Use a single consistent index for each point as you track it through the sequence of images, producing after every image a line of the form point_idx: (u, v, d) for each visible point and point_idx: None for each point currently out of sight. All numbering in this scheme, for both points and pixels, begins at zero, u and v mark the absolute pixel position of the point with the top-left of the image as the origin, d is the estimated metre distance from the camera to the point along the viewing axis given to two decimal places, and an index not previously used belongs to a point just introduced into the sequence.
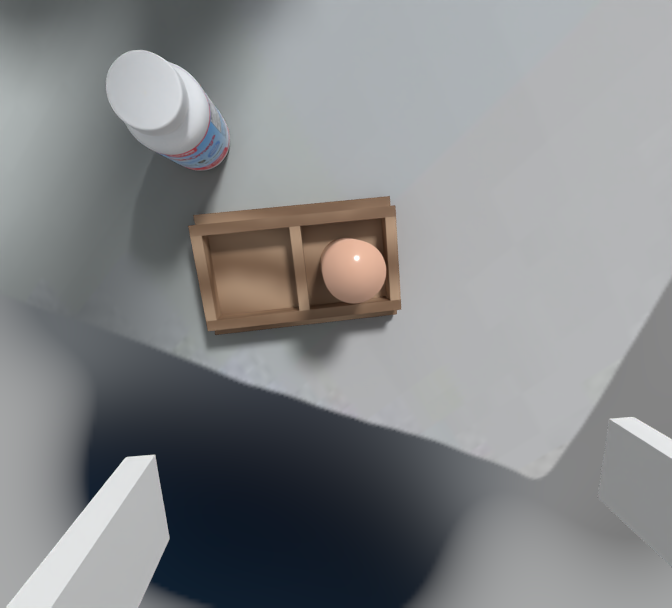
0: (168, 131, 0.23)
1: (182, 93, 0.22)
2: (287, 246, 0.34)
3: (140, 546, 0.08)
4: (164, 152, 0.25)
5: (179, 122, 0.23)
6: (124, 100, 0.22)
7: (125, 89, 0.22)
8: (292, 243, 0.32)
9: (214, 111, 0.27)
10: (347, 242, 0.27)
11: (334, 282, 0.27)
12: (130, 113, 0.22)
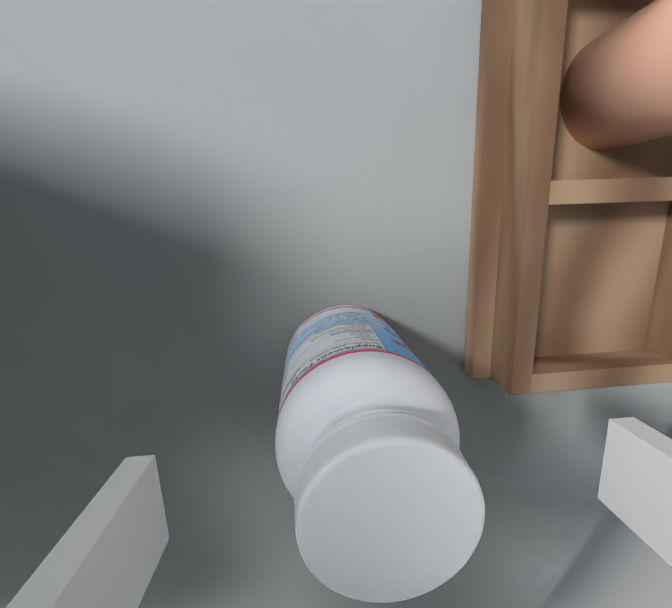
0: None
1: (403, 435, 0.08)
2: (554, 216, 0.17)
3: (140, 546, 0.08)
4: None
5: (449, 439, 0.09)
6: (411, 568, 0.08)
7: (386, 565, 0.08)
8: (581, 200, 0.15)
9: (349, 335, 0.13)
10: None
11: None
12: (441, 558, 0.08)
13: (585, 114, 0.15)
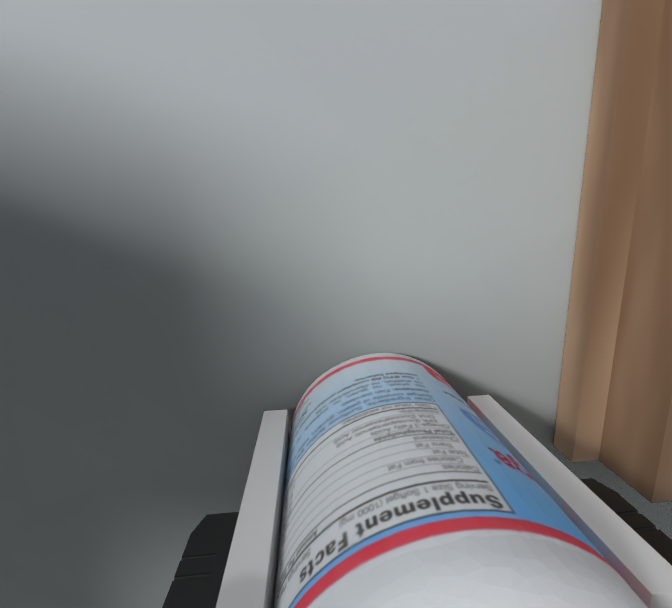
0: None
1: None
2: None
3: None
4: None
5: None
6: None
7: None
8: None
9: (414, 452, 0.06)
10: None
11: None
12: None
13: None
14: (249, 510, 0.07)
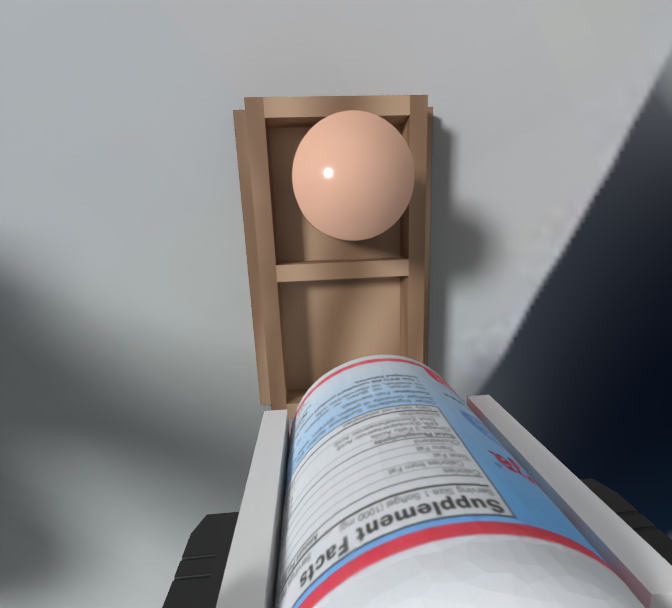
0: None
1: None
2: (308, 283, 0.23)
3: None
4: None
5: None
6: None
7: None
8: (302, 279, 0.21)
9: (415, 455, 0.06)
10: (296, 189, 0.14)
11: (370, 220, 0.14)
12: None
13: None
14: (249, 510, 0.07)
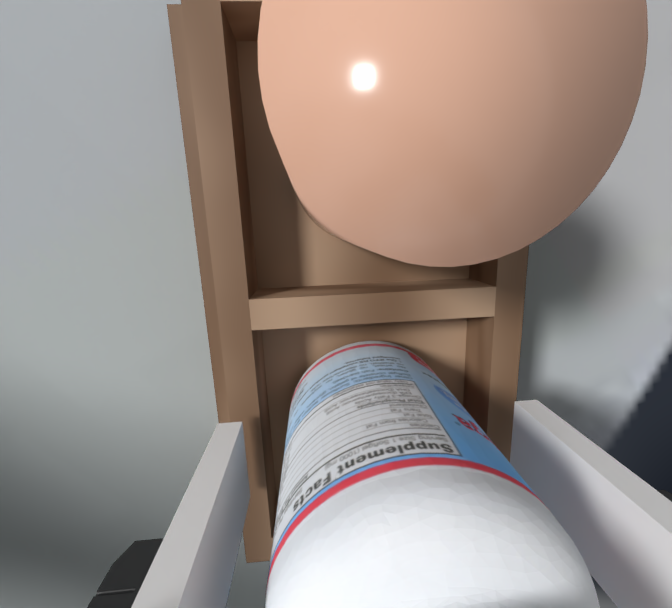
0: None
1: None
2: None
3: (238, 496, 0.10)
4: None
5: None
6: None
7: None
8: (299, 324, 0.11)
9: (389, 414, 0.08)
10: (272, 104, 0.04)
11: (500, 206, 0.05)
12: None
13: (302, 206, 0.11)
14: (173, 539, 0.07)
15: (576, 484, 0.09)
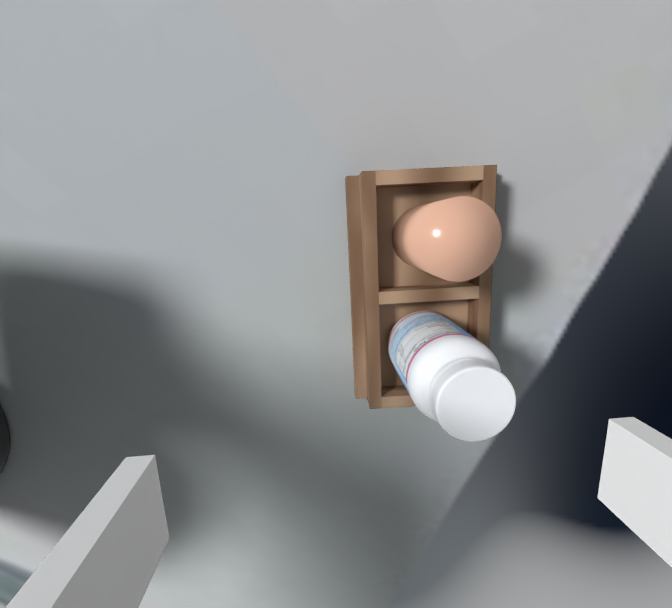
0: None
1: (481, 365, 0.19)
2: (396, 304, 0.29)
3: (140, 546, 0.08)
4: None
5: None
6: (483, 425, 0.20)
7: (473, 423, 0.20)
8: (398, 301, 0.27)
9: (440, 327, 0.24)
10: (421, 248, 0.21)
11: (470, 267, 0.21)
12: (496, 421, 0.20)
13: (399, 254, 0.27)
14: None
15: None
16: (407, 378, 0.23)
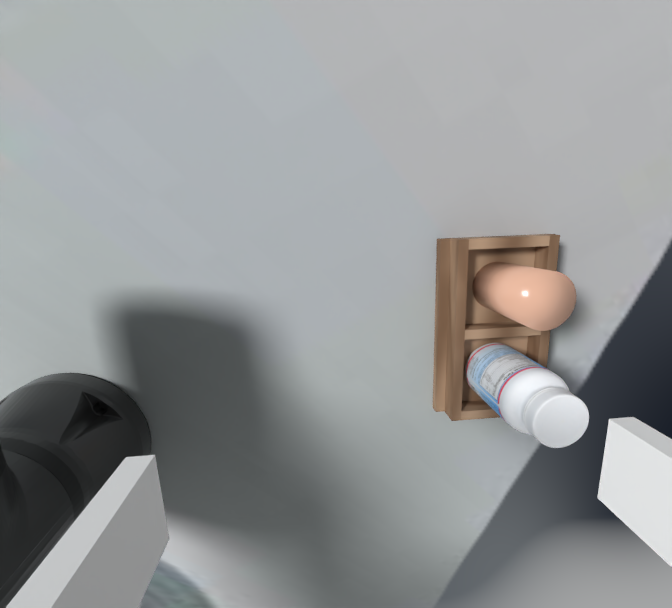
0: None
1: (566, 394, 0.27)
2: None
3: (140, 546, 0.08)
4: None
5: None
6: (565, 436, 0.27)
7: (558, 434, 0.27)
8: (479, 337, 0.35)
9: (520, 360, 0.32)
10: (518, 307, 0.28)
11: (552, 321, 0.29)
12: (574, 433, 0.27)
13: (480, 300, 0.35)
14: None
15: None
16: (499, 400, 0.30)
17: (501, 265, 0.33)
